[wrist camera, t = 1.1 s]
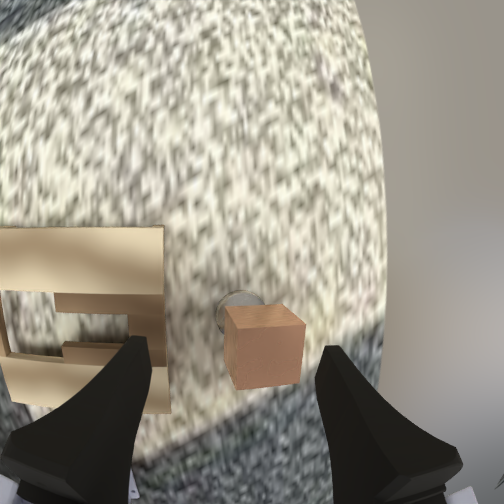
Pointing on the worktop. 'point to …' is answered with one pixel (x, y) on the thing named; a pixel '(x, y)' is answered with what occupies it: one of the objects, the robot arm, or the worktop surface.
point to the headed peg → (260, 341)
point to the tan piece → (86, 304)
